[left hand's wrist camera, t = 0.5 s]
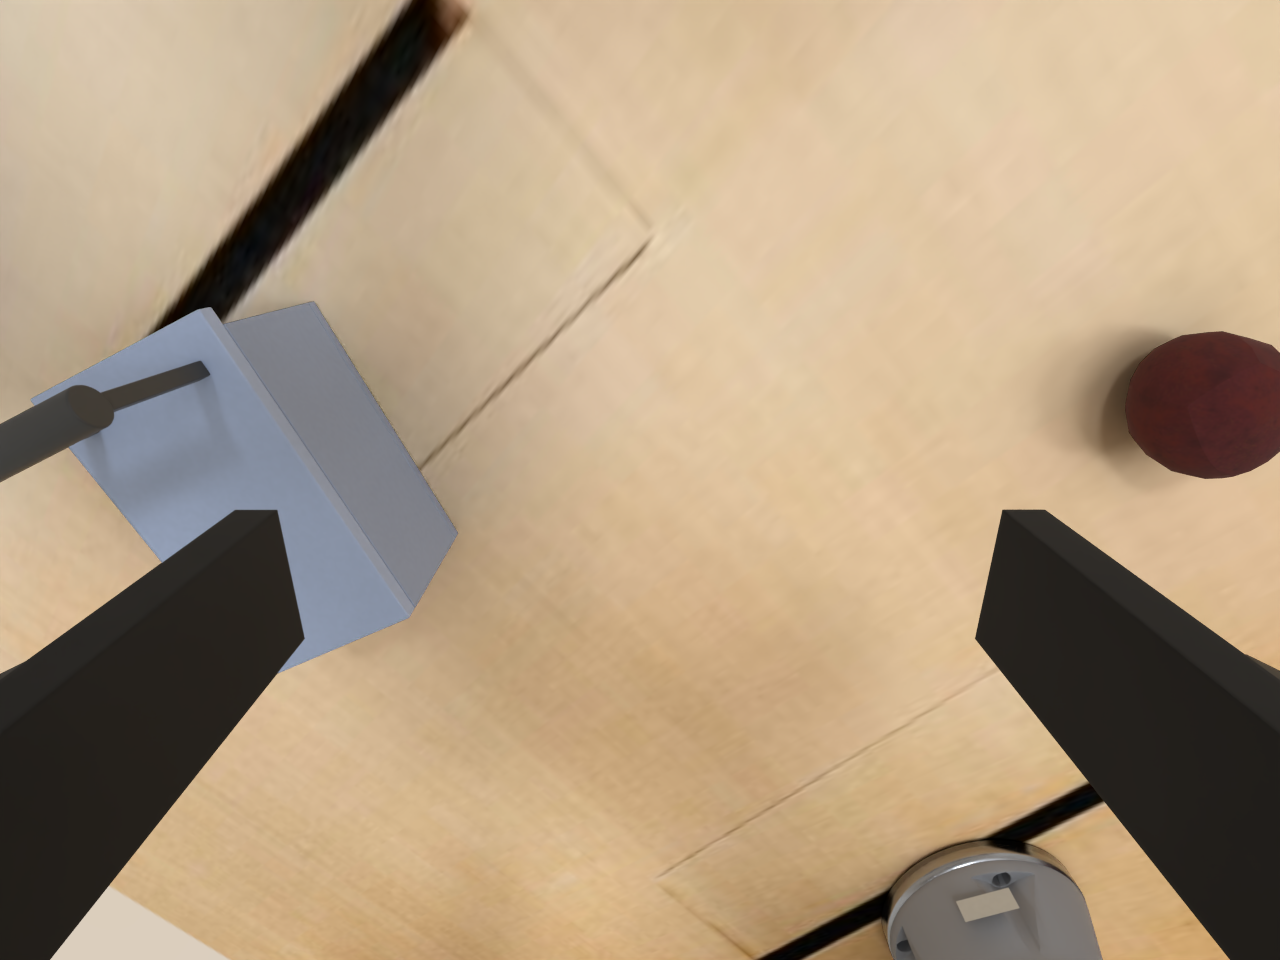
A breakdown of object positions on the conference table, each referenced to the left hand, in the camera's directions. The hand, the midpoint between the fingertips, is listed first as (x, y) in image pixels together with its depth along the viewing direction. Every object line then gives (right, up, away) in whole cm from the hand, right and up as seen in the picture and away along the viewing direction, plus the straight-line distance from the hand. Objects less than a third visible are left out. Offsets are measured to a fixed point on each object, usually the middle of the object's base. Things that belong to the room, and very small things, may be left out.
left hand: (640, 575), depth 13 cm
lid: (-19, 0, +20) cm, 27 cm away
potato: (+30, +7, +26) cm, 41 cm away
